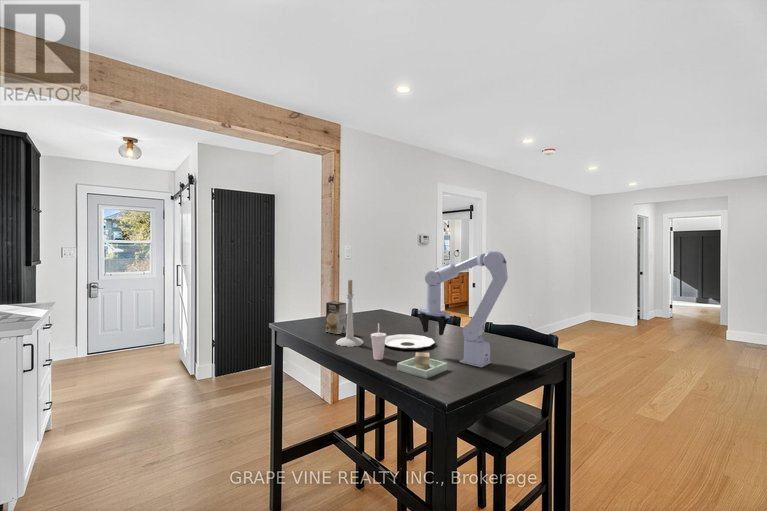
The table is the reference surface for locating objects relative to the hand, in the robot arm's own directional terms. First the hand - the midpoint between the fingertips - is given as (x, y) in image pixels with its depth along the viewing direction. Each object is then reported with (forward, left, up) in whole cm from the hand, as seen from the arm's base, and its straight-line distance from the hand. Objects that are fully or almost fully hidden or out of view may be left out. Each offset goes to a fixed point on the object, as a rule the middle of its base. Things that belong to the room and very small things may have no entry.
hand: (433, 333), depth 145 cm
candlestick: (+40, +10, -10) cm, 42 cm away
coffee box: (+61, +1, -10) cm, 62 cm away
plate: (+20, -8, -10) cm, 24 cm away
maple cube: (-7, +17, -9) cm, 20 cm away
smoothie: (+14, +18, -10) cm, 25 cm away
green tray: (-7, +17, -9) cm, 21 cm away
